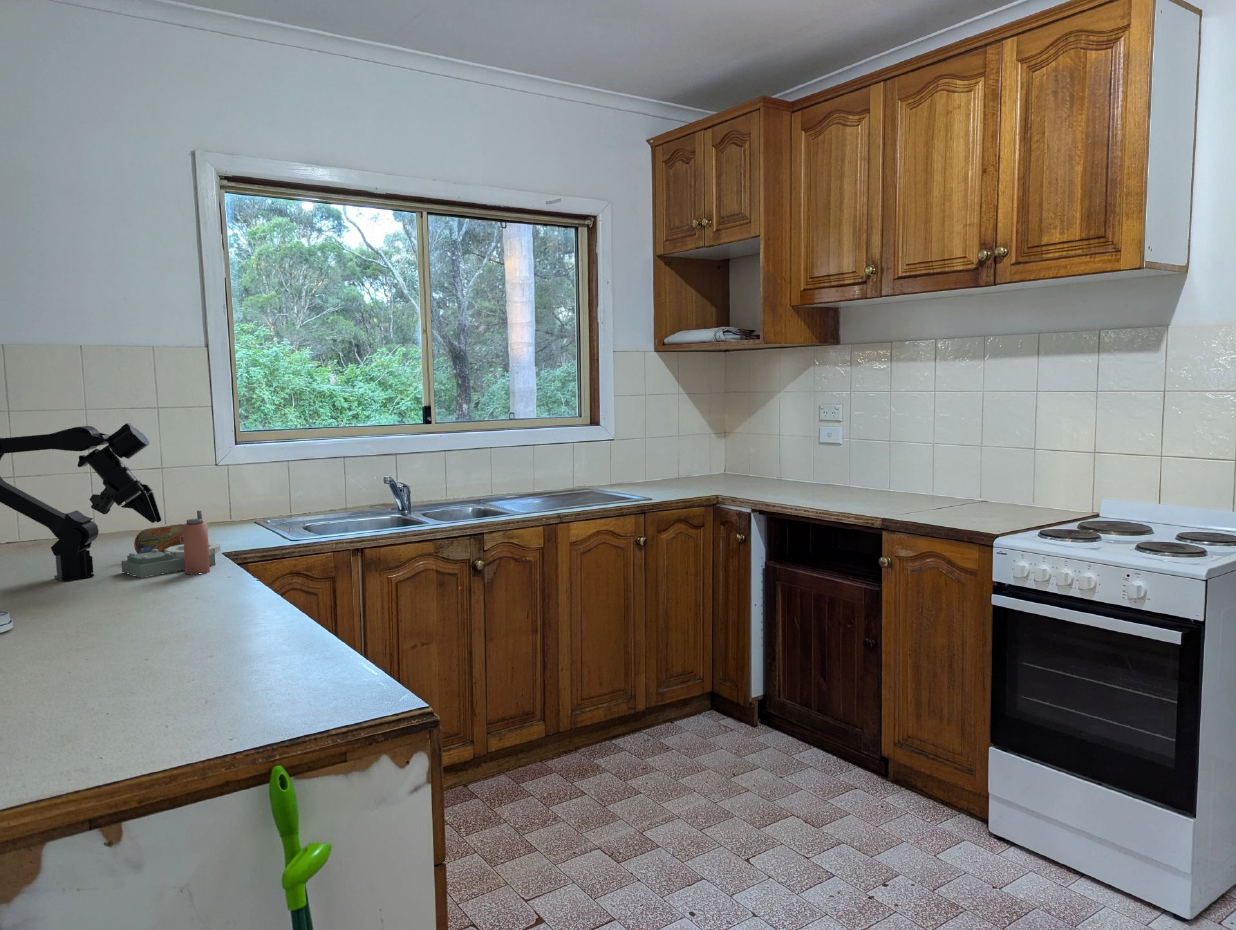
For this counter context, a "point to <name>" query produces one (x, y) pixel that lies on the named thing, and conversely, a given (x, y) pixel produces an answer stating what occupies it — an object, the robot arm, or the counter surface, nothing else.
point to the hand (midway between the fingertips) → (157, 521)
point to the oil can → (196, 545)
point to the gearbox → (161, 561)
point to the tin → (159, 538)
